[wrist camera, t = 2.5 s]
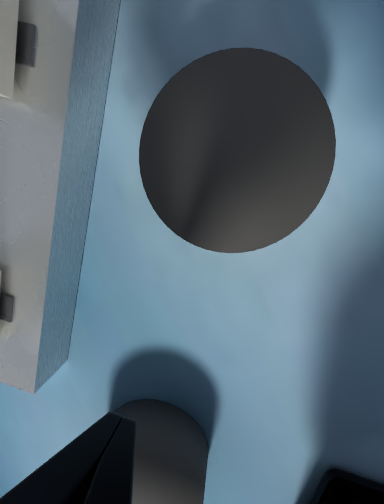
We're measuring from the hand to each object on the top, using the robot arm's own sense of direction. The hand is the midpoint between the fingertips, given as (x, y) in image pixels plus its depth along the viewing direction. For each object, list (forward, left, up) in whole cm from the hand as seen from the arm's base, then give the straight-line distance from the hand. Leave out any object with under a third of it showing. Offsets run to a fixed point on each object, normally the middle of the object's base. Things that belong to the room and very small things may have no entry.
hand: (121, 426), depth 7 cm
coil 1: (-1, +7, -6) cm, 9 cm away
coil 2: (-1, -8, -6) cm, 10 cm away
